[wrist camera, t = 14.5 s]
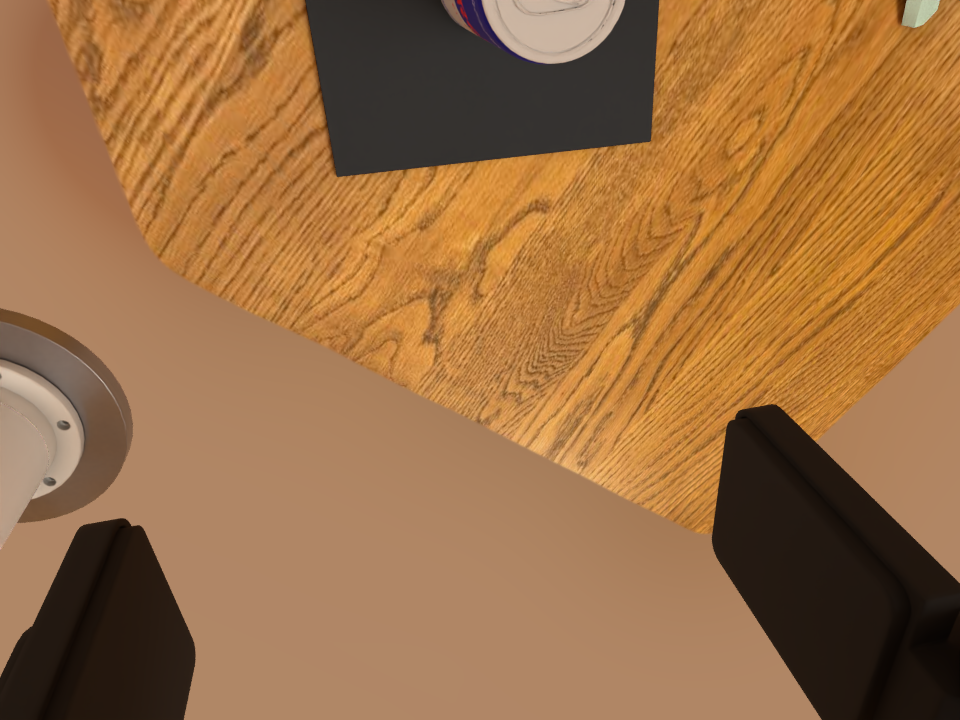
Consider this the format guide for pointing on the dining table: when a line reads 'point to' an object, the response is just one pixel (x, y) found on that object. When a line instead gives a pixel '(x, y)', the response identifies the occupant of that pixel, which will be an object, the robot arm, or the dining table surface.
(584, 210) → the dining table surface
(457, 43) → the mat
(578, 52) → the beverage can
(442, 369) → the dining table surface
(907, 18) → the cloth
